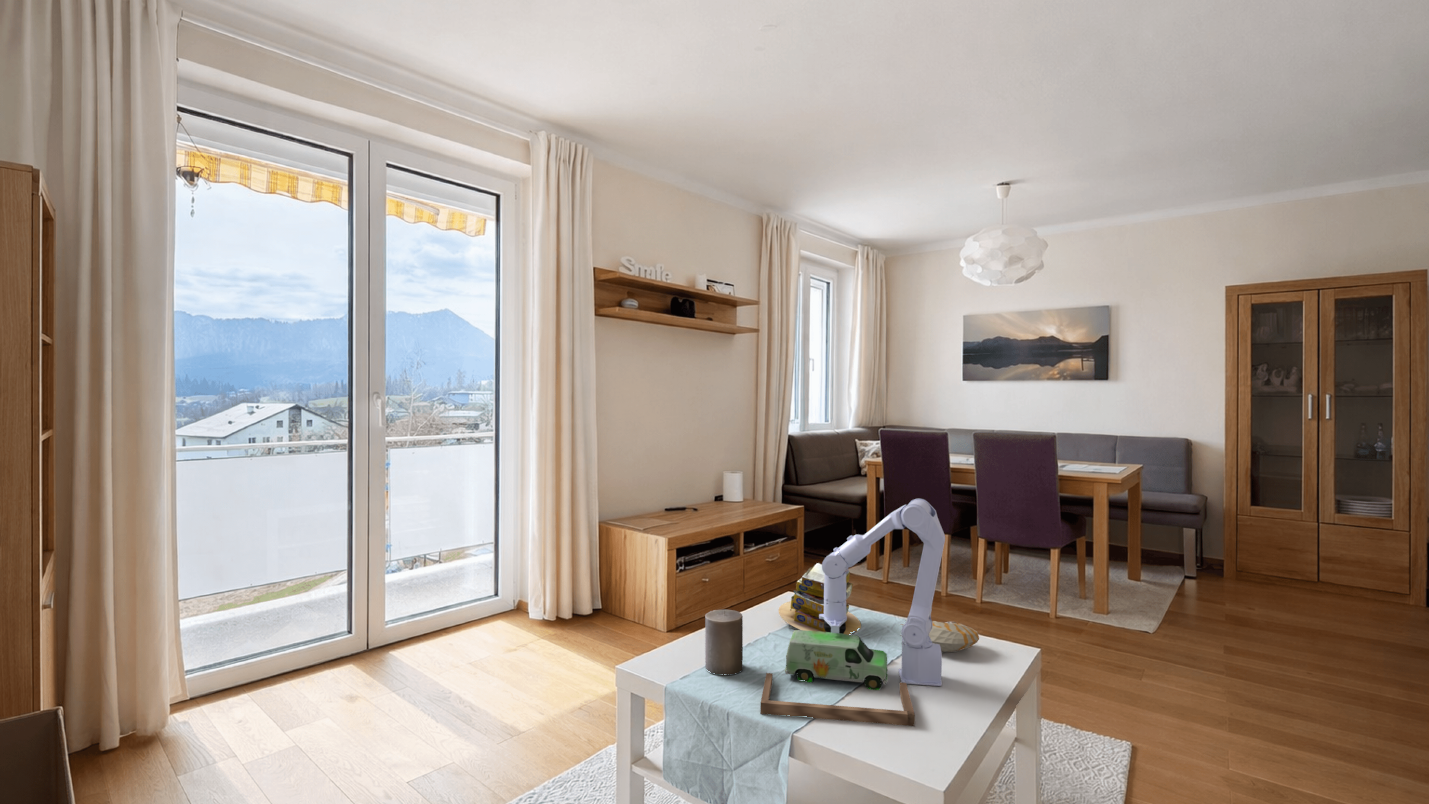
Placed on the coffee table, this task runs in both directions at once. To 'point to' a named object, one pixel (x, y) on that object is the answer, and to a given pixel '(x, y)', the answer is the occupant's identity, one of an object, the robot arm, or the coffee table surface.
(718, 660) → the pillar candle
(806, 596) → the stacked boxes on plate
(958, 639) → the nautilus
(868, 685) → the toy car
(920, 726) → the coffee table surface
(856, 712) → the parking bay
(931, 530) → the robot arm
